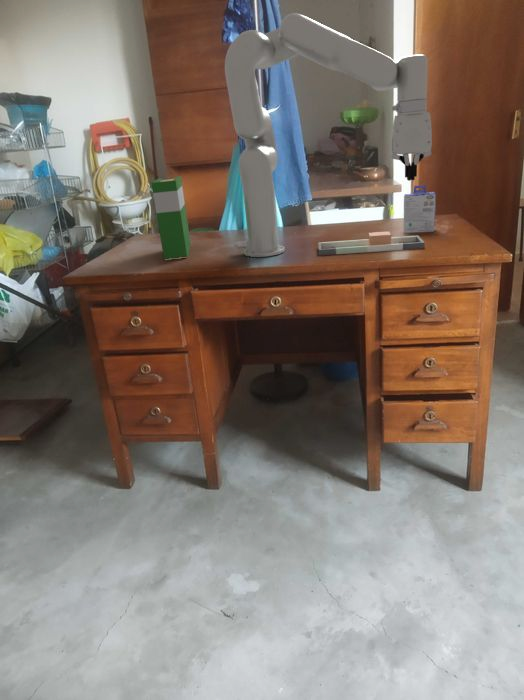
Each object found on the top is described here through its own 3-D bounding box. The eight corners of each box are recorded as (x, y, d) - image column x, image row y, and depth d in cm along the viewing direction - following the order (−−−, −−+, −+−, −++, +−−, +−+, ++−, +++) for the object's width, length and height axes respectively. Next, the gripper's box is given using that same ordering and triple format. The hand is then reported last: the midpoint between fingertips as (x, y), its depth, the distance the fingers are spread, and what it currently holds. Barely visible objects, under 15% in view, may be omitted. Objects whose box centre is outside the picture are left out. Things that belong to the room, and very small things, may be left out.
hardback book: (170, 249, 182) (158, 178, 172) (191, 247, 182) (180, 176, 172) (164, 260, 165) (151, 182, 156) (187, 258, 165) (175, 180, 156)
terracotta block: (370, 249, 151) (370, 236, 150) (368, 246, 156) (368, 232, 154) (391, 248, 151) (391, 234, 149) (388, 244, 155) (388, 231, 154)
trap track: (318, 256, 151) (318, 249, 150) (318, 249, 160) (318, 242, 159) (424, 249, 147) (424, 242, 147) (418, 242, 156) (418, 235, 156)
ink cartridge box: (434, 229, 172) (435, 184, 166) (435, 232, 167) (436, 186, 161) (403, 230, 174) (404, 186, 169) (403, 234, 170) (404, 188, 164)
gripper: (384, 110, 135) (385, 183, 143) (443, 104, 133) (441, 178, 141) (381, 111, 142) (382, 181, 149) (437, 105, 140) (435, 176, 147)
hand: (410, 179), depth 145 cm, fingers closed
